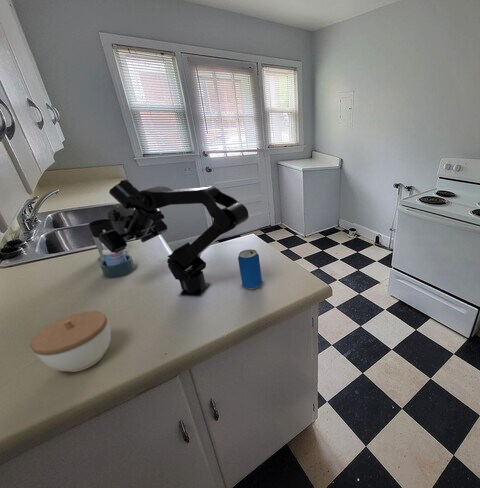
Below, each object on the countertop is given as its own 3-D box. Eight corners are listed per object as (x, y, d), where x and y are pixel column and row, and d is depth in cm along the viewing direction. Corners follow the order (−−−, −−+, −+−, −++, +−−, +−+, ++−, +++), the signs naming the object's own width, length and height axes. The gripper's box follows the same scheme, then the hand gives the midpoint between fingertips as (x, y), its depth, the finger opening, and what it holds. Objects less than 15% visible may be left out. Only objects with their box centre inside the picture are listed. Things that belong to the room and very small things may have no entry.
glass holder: (123, 249, 118) (112, 217, 112) (129, 260, 108) (117, 225, 102) (99, 255, 113) (85, 222, 107) (103, 267, 103) (88, 231, 97)
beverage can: (266, 282, 92) (262, 250, 87) (254, 292, 87) (249, 259, 82) (251, 278, 94) (246, 247, 90) (238, 287, 89) (232, 255, 84)
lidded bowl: (43, 393, 55) (17, 353, 50) (53, 354, 64) (32, 317, 60) (119, 363, 61) (102, 325, 57) (118, 332, 71) (103, 297, 66)
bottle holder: (140, 265, 104) (137, 255, 103) (122, 278, 96) (117, 267, 94) (118, 264, 105) (114, 254, 103) (97, 277, 97) (93, 266, 95)
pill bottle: (114, 275, 96) (103, 247, 92) (106, 271, 99) (95, 243, 95) (132, 268, 101) (123, 241, 96) (124, 264, 104) (115, 237, 99)
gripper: (152, 192, 89) (138, 220, 98) (90, 207, 74) (80, 239, 82) (175, 217, 90) (160, 242, 98) (119, 237, 74) (106, 266, 82)
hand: (129, 246), depth 90 cm, fingers open, 9 cm apart
